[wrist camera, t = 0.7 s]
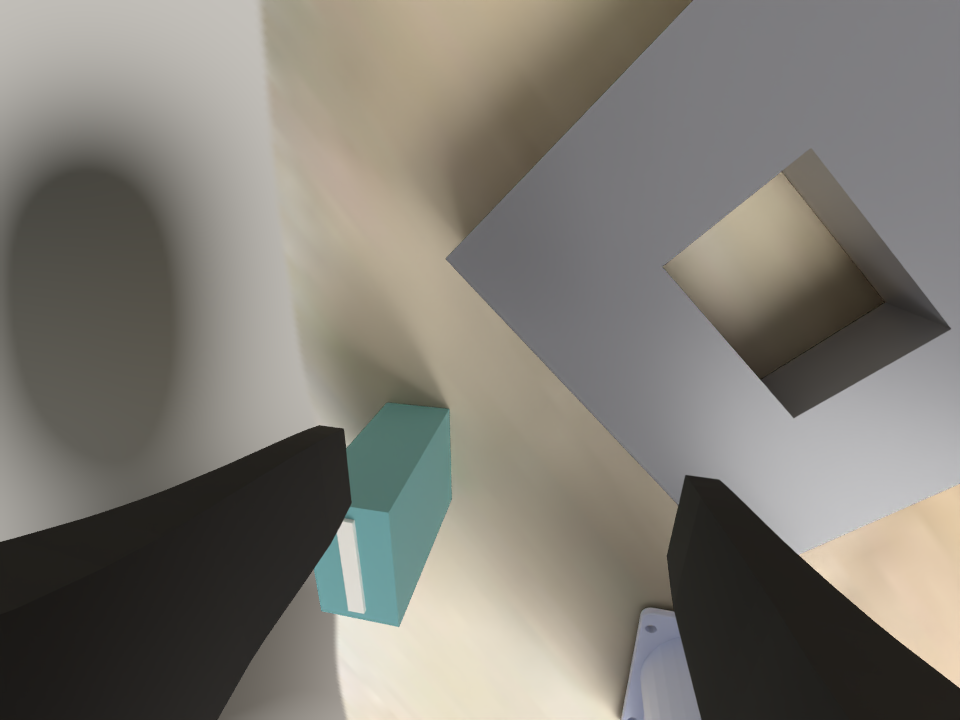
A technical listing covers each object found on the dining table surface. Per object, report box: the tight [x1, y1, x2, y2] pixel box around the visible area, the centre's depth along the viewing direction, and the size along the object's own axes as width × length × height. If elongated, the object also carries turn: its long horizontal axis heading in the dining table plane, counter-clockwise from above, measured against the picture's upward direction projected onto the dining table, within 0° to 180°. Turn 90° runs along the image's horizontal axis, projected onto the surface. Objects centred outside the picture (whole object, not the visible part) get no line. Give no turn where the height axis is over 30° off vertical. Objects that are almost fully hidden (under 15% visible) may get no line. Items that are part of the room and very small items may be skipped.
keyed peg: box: [314, 402, 452, 627], centre depth 18 cm, size 5×3×7 cm, turn 0°
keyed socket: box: [446, 0, 960, 555], centre depth 14 cm, size 16×14×3 cm
